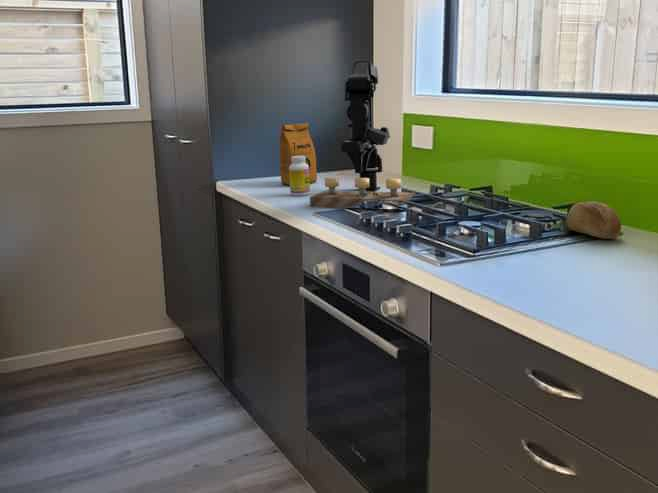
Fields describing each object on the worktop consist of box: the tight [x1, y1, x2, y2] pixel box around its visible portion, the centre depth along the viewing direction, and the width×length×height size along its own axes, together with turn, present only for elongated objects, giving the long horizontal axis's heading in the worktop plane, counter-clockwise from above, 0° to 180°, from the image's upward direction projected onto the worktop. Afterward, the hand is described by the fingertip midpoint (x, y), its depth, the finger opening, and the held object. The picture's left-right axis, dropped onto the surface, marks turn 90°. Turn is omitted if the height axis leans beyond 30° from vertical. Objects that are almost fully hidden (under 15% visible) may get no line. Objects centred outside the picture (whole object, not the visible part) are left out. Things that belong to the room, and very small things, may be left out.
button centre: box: [354, 177, 370, 196], centre depth 210 cm, size 4×4×5 cm
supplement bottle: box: [289, 156, 311, 197], centre depth 231 cm, size 7×7×13 cm
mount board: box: [309, 189, 417, 209], centre depth 211 cm, size 30×12×3 cm, turn 67°
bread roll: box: [565, 200, 622, 240], centre depth 163 cm, size 10×15×8 cm, turn 19°
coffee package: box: [278, 122, 318, 186], centre depth 251 cm, size 10×12×22 cm
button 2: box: [385, 178, 402, 197], centre depth 206 cm, size 4×4×5 cm
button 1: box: [324, 176, 340, 195], centre depth 214 cm, size 4×4×5 cm
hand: (361, 172), depth 209 cm, fingers open, 4 cm apart
